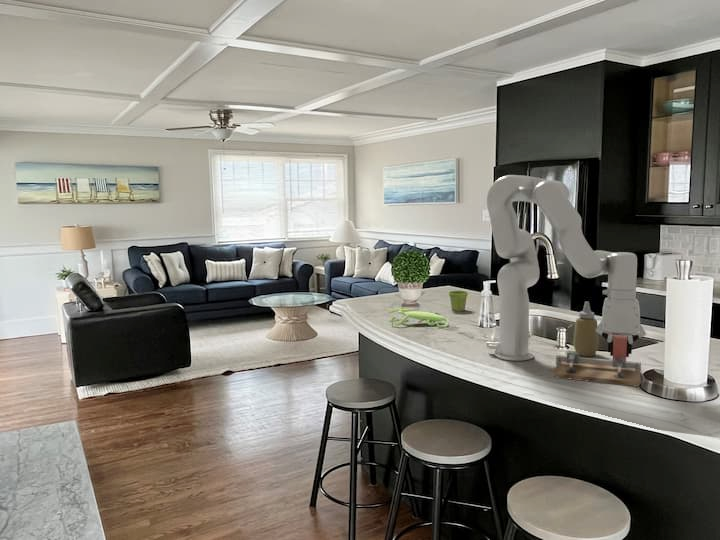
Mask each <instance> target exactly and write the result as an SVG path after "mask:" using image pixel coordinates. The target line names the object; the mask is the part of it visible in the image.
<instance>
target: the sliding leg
mask: <svg viewBox="0 0 720 540" xmlns="http://www.w3.org/2000/svg"><path fill="white" fill-rule="evenodd" d="M612 339H613V355H612V360H613V364H612V367H618V376H621V368H626V361H627V357H626V351H627V340H628V335H626V334H613V337H612Z"/></svg>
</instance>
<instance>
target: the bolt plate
mask: <svg viewBox="0 0 720 540" xmlns="http://www.w3.org/2000/svg"><path fill="white" fill-rule="evenodd" d="M554 377H558V378H557V379H563V378H571V379H570V380H573V379H581V380H580V381H583V380H588V381H587V382H592V381H597V382H596V383H602V382H606V383H605V384H612V383H615V384H614V385H621V384H624V385H623V386H631V385H640V384H641V385H642V380H641V372H635V368H621V376H618V367H612V366H604V365H593V364H582V363H578V364H574V363H573V368H572V371H570V363H567V362H562V364H561V365H557V364H556V366H555V369H554V372H553V378H554Z"/></svg>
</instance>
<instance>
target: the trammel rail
mask: <svg viewBox="0 0 720 540" xmlns="http://www.w3.org/2000/svg"><path fill="white" fill-rule="evenodd" d="M562 362H567V363H570V371H572V368H573V363H574V364H578V363H582V364H593V365H604V366H612V364H613V359H605V358H593V357H584V356H582V357H581V356H580V355H579V352H577V351H574V350H567V351H566V355H561V354H559V355H558V354H557V355H556V357H555V365H556V366H557V365H561V364H562ZM626 368H635V372H640V373H641V372H642V371H641V370H642V363H641V362H640V361H627V360H626Z"/></svg>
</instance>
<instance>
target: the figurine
mask: <svg viewBox="0 0 720 540" xmlns="http://www.w3.org/2000/svg"><path fill="white" fill-rule="evenodd" d="M393 313H398V314H399V315H404V317H402V319H401V320H400V321H399V322H398V321H397V319H398V318H397V316H396V315H393V316H392V318H391V328H394V323H395V326H396V327H399V326H401V325H402V324H404V322H405V321H407V319H408V318H410V319H411V318H412V319H414V320H419V321H417V323H418V324H419V323H422V322H424V321H426V323H427V324H426V325H429V326H437V327H438V328H442V327H445V328H448V327H449V325H450V320H449V319H448V318H445V317H444V316H443V315H441V313H438V312H435V313H432V312H425V311H409V309H407V308H396V309H391V310H388V314H393ZM394 321H395V322H394ZM441 321H444V322H445V324H444V325H443V324H441V325H440V324H439V323H440V322H441ZM447 326H448V327H447ZM442 329H443V328H442Z"/></svg>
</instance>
